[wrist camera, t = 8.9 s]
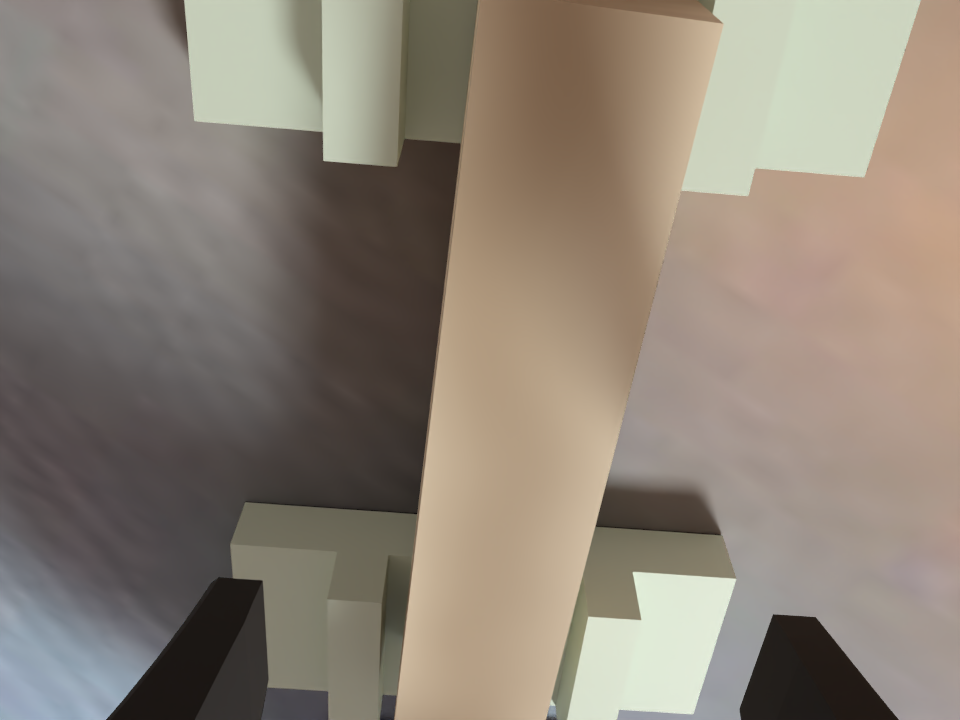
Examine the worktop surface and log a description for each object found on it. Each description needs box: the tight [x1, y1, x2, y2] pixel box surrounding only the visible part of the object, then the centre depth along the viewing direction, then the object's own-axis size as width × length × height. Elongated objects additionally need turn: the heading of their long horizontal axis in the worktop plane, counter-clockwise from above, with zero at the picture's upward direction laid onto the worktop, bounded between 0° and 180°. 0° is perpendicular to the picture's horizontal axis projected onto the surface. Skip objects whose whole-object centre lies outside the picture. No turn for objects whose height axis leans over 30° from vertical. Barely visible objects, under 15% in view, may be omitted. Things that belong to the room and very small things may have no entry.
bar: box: [394, 0, 724, 720], centre depth 17 cm, size 3×16×4 cm, turn 173°
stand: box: [184, 0, 921, 720], centre depth 19 cm, size 20×12×3 cm, turn 175°
